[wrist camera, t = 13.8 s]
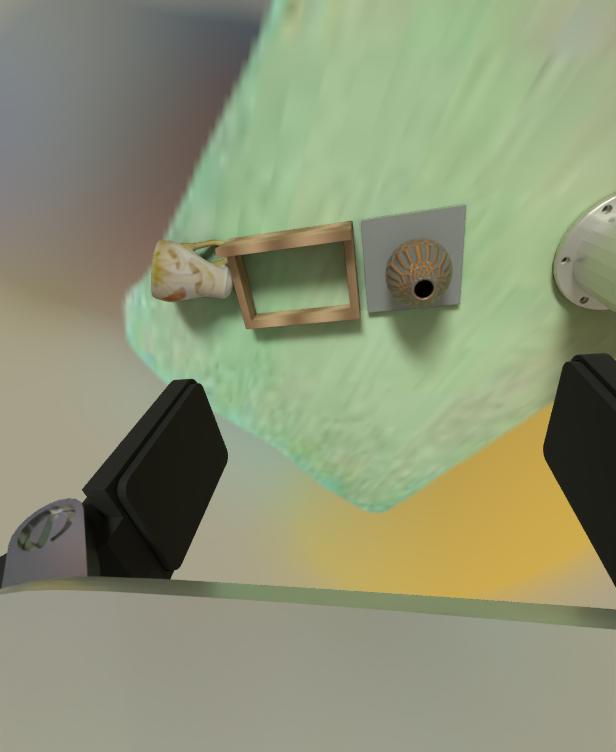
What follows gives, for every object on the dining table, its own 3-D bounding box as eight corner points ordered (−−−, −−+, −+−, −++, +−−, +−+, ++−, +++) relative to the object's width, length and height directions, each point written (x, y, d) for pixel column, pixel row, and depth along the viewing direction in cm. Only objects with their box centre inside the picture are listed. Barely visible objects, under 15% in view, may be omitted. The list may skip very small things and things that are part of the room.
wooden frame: (352, 220, 41) (350, 229, 37) (360, 310, 46) (359, 327, 42) (229, 238, 44) (214, 248, 40) (251, 321, 50) (240, 337, 45)
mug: (241, 305, 49) (179, 335, 43) (194, 265, 51) (130, 288, 45) (250, 258, 43) (180, 285, 37) (197, 216, 46) (123, 234, 39)
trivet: (464, 204, 38) (466, 205, 38) (458, 301, 44) (459, 304, 43) (361, 219, 41) (360, 220, 40) (368, 310, 46) (367, 312, 46)
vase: (389, 298, 44) (393, 328, 37) (379, 241, 41) (381, 263, 34) (448, 285, 42) (464, 314, 35) (442, 225, 39) (459, 244, 32)
